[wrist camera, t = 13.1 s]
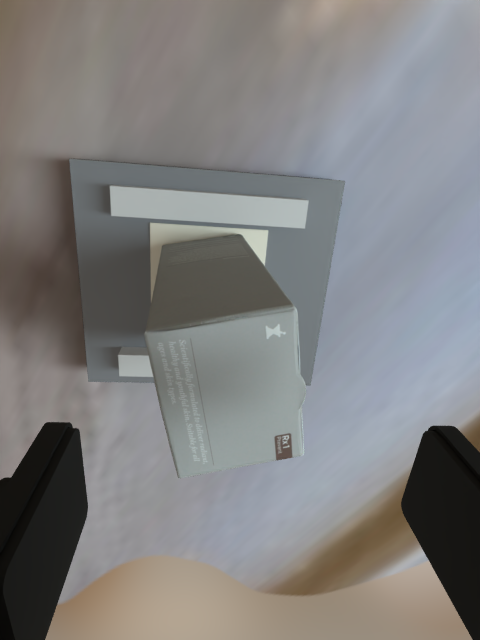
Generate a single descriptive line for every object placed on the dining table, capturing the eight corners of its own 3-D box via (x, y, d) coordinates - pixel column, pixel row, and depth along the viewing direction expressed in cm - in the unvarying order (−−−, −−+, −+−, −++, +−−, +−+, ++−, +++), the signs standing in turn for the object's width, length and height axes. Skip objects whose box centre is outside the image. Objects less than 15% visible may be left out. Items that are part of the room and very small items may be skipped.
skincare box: (161, 243, 29) (117, 323, 14) (253, 230, 29) (303, 297, 15) (180, 341, 32) (161, 489, 18) (263, 330, 32) (311, 465, 18)
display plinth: (332, 179, 31) (352, 181, 27) (302, 369, 38) (314, 394, 34) (82, 159, 29) (61, 158, 25) (97, 364, 36) (83, 391, 32)
